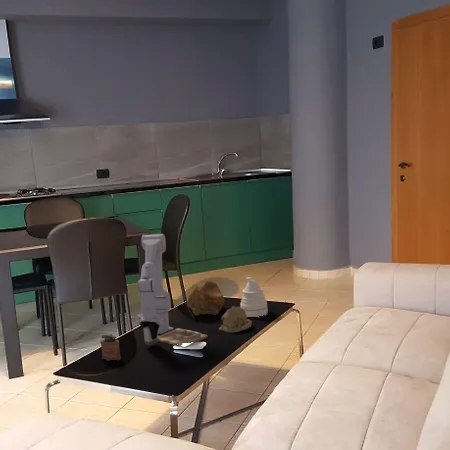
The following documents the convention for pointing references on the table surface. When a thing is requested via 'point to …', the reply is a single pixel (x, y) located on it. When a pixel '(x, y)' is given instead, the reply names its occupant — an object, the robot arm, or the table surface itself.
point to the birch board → (181, 336)
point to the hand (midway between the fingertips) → (151, 338)
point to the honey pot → (253, 299)
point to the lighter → (110, 347)
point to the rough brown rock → (205, 298)
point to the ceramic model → (235, 320)
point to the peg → (149, 337)
